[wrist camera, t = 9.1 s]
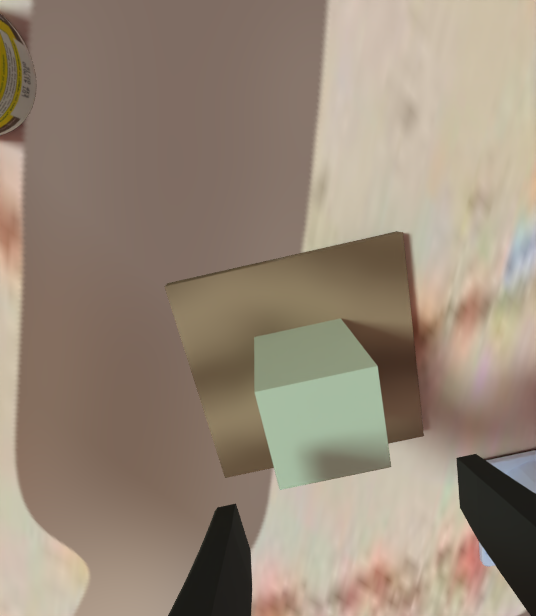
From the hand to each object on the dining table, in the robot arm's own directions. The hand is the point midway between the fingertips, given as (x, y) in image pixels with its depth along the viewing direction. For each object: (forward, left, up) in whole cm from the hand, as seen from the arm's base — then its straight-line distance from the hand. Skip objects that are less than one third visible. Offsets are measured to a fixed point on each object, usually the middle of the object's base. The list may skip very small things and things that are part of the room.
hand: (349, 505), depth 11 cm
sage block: (0, 0, -10) cm, 10 cm away
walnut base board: (0, 0, -10) cm, 10 cm away
